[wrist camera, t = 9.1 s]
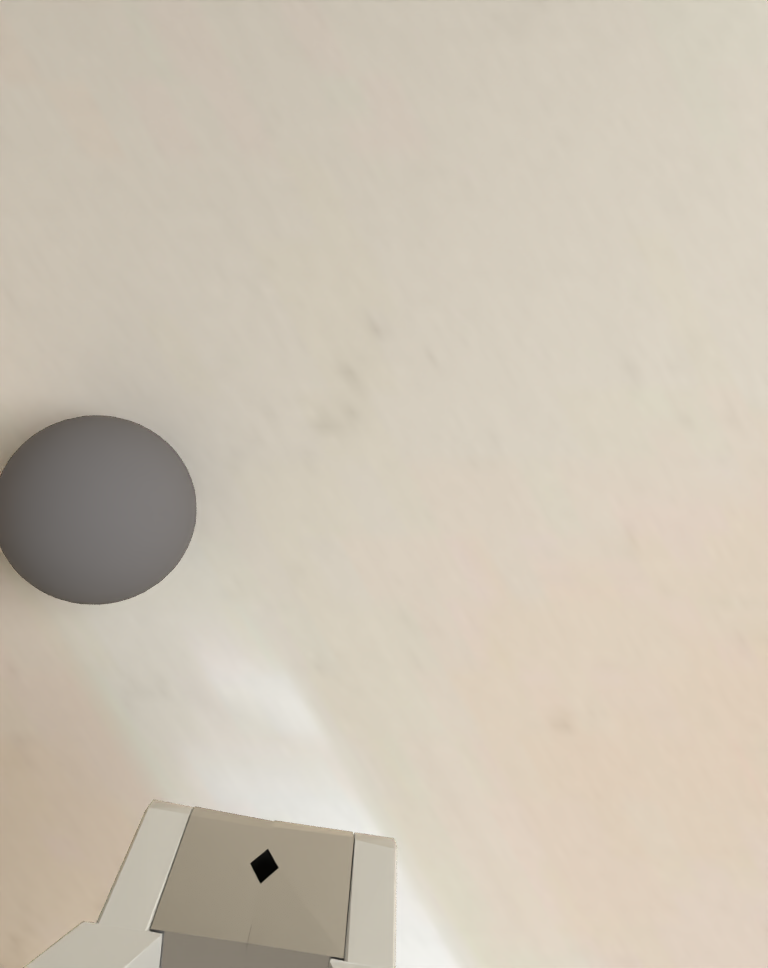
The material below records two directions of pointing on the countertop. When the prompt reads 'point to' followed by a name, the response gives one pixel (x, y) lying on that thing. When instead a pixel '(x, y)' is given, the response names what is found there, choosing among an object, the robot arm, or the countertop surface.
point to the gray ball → (95, 510)
